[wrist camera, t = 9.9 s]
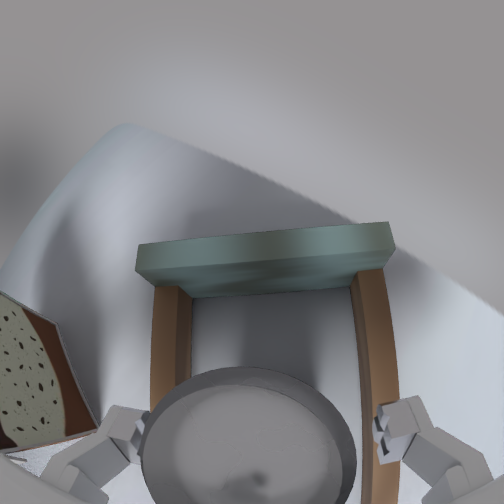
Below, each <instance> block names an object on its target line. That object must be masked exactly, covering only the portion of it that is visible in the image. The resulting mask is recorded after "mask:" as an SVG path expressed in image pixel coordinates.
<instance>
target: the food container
mask: <svg viewBox="0 0 504 504" xmlns="http://www.w3.org/2000/svg"><path fill="white" fill-rule="evenodd" d="M99 427H100V426H99V424H98V422H97V420H96V418H95V416H94V414H93V412H92V410H91V408H90V406H89V404H88V402H87V400H86V398H85V395H84V393H83V391H82V389H81V386H80V384H79V382H78V379H77V377H76V374H75V372H74V369H73V367H72V364H71V362H70V359H69V356H68V354H67V351H66V348H65V345H64V342H63V339H62V336H61V333H60V330H59V327H58V324H57V323H56V322H54V321H52V320H50V319H48V318H46V317H45V316H43V315H41V314H39V313H37V312H35V311H34V310H32V309H30V308H28V307H27V306H25V305H23V304H21V303H20V302H18V301H16V300H15V299H13V298H11V297H10V296H8V295H7V294H5V293H3V292H2V291H0V453H1V454H3V455H4V456H5V457H7V458H8V459H10V460H11V461H13V462H14V463H16V464H22V463H26V462H27V460H26V459H22V458H17V457H12V456H8V455H6V454H7V453H14V452H19V451H25V450H30V449H35V448H40V447H44V446H49V445H53V444H57V443H61V442H65V441H69V440H73V439H77V438H81V437H84V436H88V435H90V434H92V433H96V432H97V430H98V428H99Z"/></svg>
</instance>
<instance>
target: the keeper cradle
mask: <svg viewBox="0 0 504 504" xmlns="http://www.w3.org/2000/svg"><path fill="white" fill-rule="evenodd" d="M395 249H396V248H395V244H394V240H393V236H392V232H391V229H390V225H389V222H376V223H362V224H349V225H336V226H324V227H312V228H300V229H289V230H277V231H266V232H256V233H245V234H235V235H225V236H215V237H205V238H195V239H185V240H176V241H167V242H158V243H149V244H140V245H139V246H138V252H137V259H136V266H135V271H136V272H137V273H139V274H140V275H141V276H142V277H144V278H145V279H146V280H147V281H149V282H150V283H151V284H152V285H154V286H155V294H154V306H153V320H152V338H151V366H150V414H151V412H152V411H153V409H154V408H155V406H156V405H157V404H158V403H159V401H160V400H161V399H162V398H163V397H164V396H165V395H166V394H167V393H168V392H170V391H171V390H172V389H173V388H174V387H176V386H177V385H179V384H181V383H182V382H184V381H185V380H187V379H190V378H191V325H192V298H206V297H224V296H240V295H255V294H269V293H282V292H294V291H305V290H316V289H326V288H336V287H346V286H350V292H351V299H352V306H353V314H354V322H355V331H356V340H357V350H358V360H359V373H360V387H361V405H362V438H363V464H362V495H361V504H397V503H398V492H399V478H400V460H399V461H395V462H391V463H386V464H381V465H380V462H379V458H378V454H377V448H378V446H379V444H378V443H376V442H375V441H374V438H373V432H372V424H373V419H374V417H376V416H377V413H376V408H377V406H378V404H381V403H386V402H390V401H395V400H399V399H400V397H399V381H398V369H397V359H396V350H395V341H394V333H393V326H392V319H391V313H390V306H389V300H388V295H387V289H386V284H385V278H384V273H383V267H384V266H385V264H386V263H387V261H388V260H389V258H390V256H391V255H392V253H393V252H394V250H395Z"/></svg>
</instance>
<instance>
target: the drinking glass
mask: <svg viewBox="0 0 504 504" xmlns="http://www.w3.org/2000/svg"><path fill="white" fill-rule="evenodd" d="M140 462H141V469H142V473H143V476H144V480H145V483H146V485H147V487H148V490H149V492H150V494H151V496H152V498H153V500H154V501H155V503H156V504H345V502H346V501H347V499H348V497H349V494H350V492H351V490H352V488H353V484H354V480H355V476H356V467H357V458H356V449H355V444H354V440H353V437H352V434H351V432H350V430H349V427H348V425H347V423H346V422H345V420H344V419H343V417H342V415H341V414H340V413H339V411H338V410H337V409H336V408H335V407H334V405H333V404H332V403H331V402H330V401H329V400H328V399H327V398H325V397H324V396H323V395H322V394H321V393H319V392H318V391H317V390H315V389H314V388H312V387H311V386H310V385H308V384H306V383H304V382H302V381H300V380H298V379H296V378H294V377H291V376H289V375H286V374H284V373H280V372H276V371H273V370H269V369H262V368H256V367H229V368H221V369H216V370H211V371H208V372H205V373H202V374H198V375H196V376H194V377H192V378H190V379H187V380H185V381H184V382H182V383H181V384H179V385H177V386H176V387H174V388H173V389H172V390H171V391H170V392H168V393H167V394H166V395H165V396H164V397H163V398H162V399H161V400H160V401H159V403H158V404H157V405H156V406H155V408H154V409H153V411H152V412H151V414H150V416H149V418H148V420H147V422H146V424H145V427H144V430H143V434H142V438H141V444H140Z"/></svg>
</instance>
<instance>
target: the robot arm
mask: <svg viewBox="0 0 504 504" xmlns="http://www.w3.org/2000/svg"><path fill="white" fill-rule="evenodd" d="M376 413H377V416H376V417H374V419H373V424H372V432H373V438H374V441H375V442H376V443H378V444H379V446H378V448H377V454H378V458H379V462H380V465H381V464H386V463H391V462H395V461H399V460H402V461H403V462H404V463H405V464H406V465H407V466H408V467H409V468H411V469H412V470H413V471H414V472H415V473H416V474H417V475H419V476H420V477H421V478H422V479H423V480H424V481H425V482H427V483H428V484H429V485H430V486H431V487H432V488H431V489H430V490H429V491H428V492H427V494H426V495H425V496H424V497H423V498H422V504H504V474H503V475H501V476H500V477H498V478H496V479H493V477H492V474H491V472H490V470H489V467H488V465H487V463H486V460H485V458H484V456H483V454H482V453H481V452H479V451H478V450H476V449H474V448H472V447H471V446H469V445H467V444H465V443H464V442H462V441H460V440H459V439H457V438H455V437H454V436H452V435H450V434H449V433H447V432H445V431H444V430H442V429H440V428H439V427H435V428H434V426H433V424H432V422H431V420H430V418H429V415H428V413H427V411H426V409H425V407H424V404H423V402H422V400H421V398H420V397H419V396H418V395H416V396H412V397H409V398H405V399H404V398H403V399H399V400H395V401H390V402H386V403H381V404H378V406H377V408H376ZM149 416H150V412H149V411H145V410H139V409H133V408H128V407H123V406H117V405H113V406H112V407H111V408H110V409H109V411H108V413H107V414H106V416H105V418H104V420H103V421H102V423H101V425H100V427H99V428H98V430H97V432H96V434H95V433H92V434H90V435H88V436H87V437H85V438H83V439H82V440H80V441H78V442H76V443H75V444H73V445H71V446H69V447H68V448H66V449H64V450H62V451H60V452H59V453H57V454H55V455H53V456H52V457H51V459H50V460H49V462H48V464H47V466H46V467H45V469H44V471H43V472H42V474H41V476H40V478H39V477H37V476H35V475H34V474H32V473H30V472H29V471H27V470H25V469H24V468H22V467H20V466H19V465H17V464H16V463H14V462H13V461H11V460H10V459H8V458H7V457H5V456H4V455H3V454H1V453H0V504H107V503H108V500H109V497H108V495H107V494H106V493H104V492H103V491H102V490H101V489H100V488H102V487H103V486H104V485H105V484H107V483H108V482H109V481H110V480H111V479H113V478H114V477H115V476H116V475H118V474H119V473H120V472H121V471H122V470H124V469H125V468H126V467H127V466H128V465H129V464H130V463H133V464H138V465H141V462H140V444H141V438H142V434H143V430H144V427H145V424H146V422H147V420H148V418H149Z"/></svg>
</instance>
